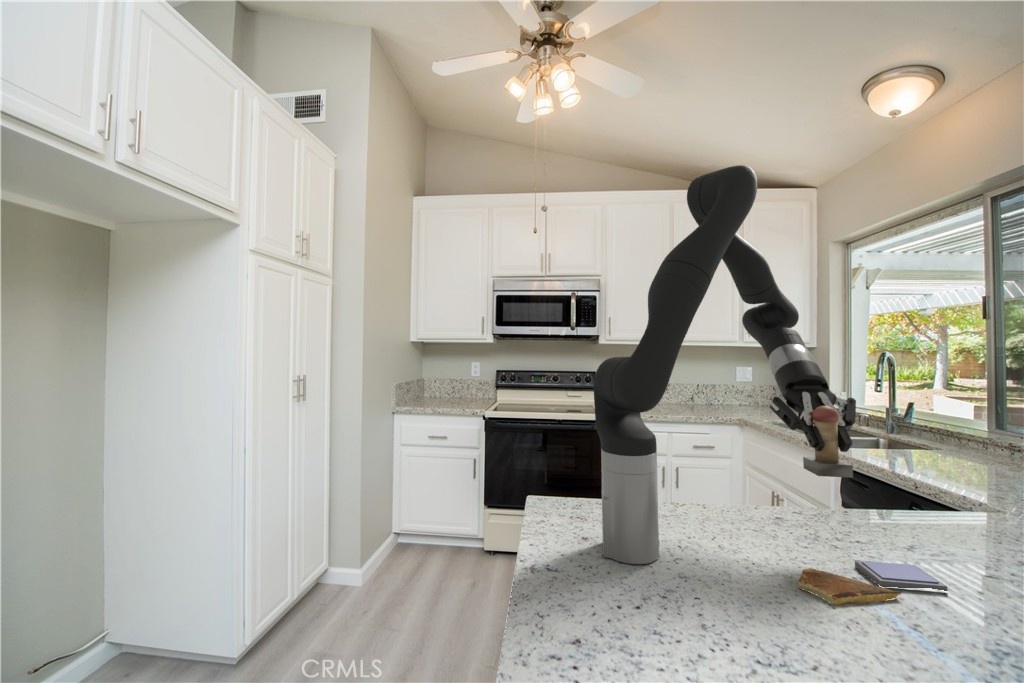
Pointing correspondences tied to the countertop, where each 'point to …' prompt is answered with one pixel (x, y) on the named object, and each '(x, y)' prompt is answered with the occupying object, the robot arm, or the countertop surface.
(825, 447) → the stamp
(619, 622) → the countertop surface
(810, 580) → the brown flat slab
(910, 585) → the ink pad
